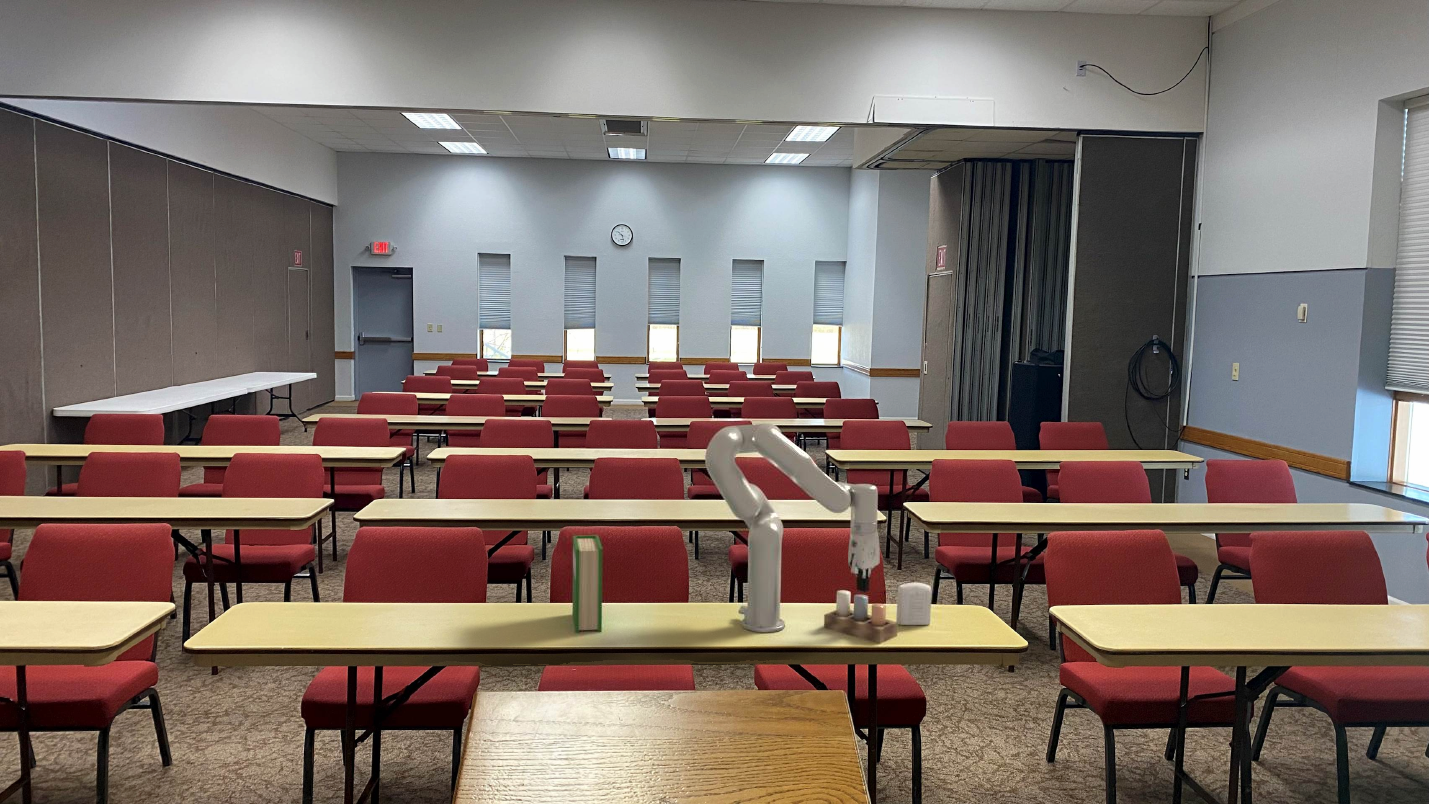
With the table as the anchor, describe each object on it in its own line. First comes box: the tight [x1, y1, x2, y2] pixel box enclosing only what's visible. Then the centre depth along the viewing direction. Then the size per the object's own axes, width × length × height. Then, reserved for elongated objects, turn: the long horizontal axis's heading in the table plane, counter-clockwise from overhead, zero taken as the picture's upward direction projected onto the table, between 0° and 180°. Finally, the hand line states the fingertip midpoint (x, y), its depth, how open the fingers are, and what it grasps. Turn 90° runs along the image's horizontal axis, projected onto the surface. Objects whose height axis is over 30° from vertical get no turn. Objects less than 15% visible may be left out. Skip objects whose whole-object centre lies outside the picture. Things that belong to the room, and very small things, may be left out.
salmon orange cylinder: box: [870, 603, 887, 627], centre depth 258 cm, size 4×4×7 cm
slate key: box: [853, 594, 869, 622], centre depth 262 cm, size 4×4×7 cm
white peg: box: [835, 589, 852, 617], centre depth 266 cm, size 4×4×7 cm
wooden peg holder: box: [823, 609, 898, 644], centre depth 262 cm, size 19×9×4 cm, turn 48°
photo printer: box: [895, 582, 932, 626], centre depth 271 cm, size 10×4×12 cm, turn 98°
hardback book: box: [571, 534, 604, 634], centre depth 265 cm, size 18×7×24 cm, turn 11°
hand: (862, 590), depth 262 cm, fingers closed
